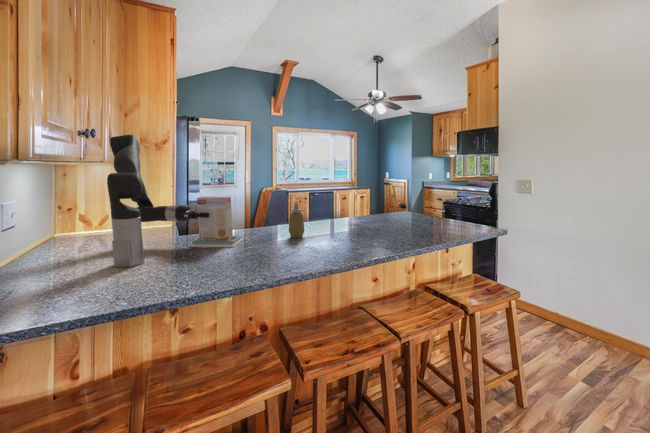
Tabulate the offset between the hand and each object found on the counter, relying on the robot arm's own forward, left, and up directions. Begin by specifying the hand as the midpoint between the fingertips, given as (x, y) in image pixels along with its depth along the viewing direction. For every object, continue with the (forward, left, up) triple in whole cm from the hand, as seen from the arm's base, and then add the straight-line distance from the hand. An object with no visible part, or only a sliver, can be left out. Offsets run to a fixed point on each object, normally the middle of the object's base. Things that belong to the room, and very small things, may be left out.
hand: (212, 213), depth 155 cm
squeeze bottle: (+16, -37, -14) cm, 42 cm away
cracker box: (0, -1, -13) cm, 13 cm away
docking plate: (0, -2, -14) cm, 14 cm away
